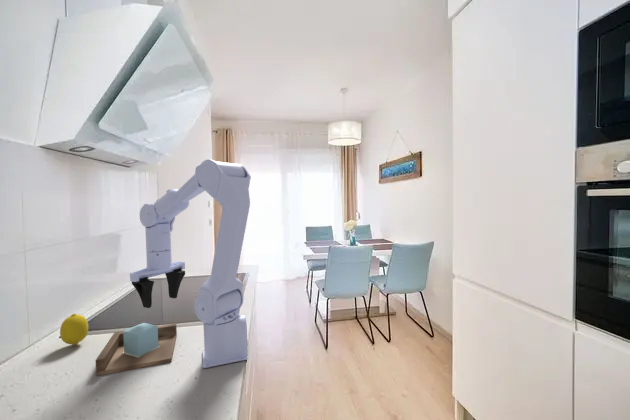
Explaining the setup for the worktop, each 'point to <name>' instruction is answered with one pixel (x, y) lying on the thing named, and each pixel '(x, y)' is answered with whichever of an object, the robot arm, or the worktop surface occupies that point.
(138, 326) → the cube
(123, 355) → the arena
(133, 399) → the worktop surface
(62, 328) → the lemon
